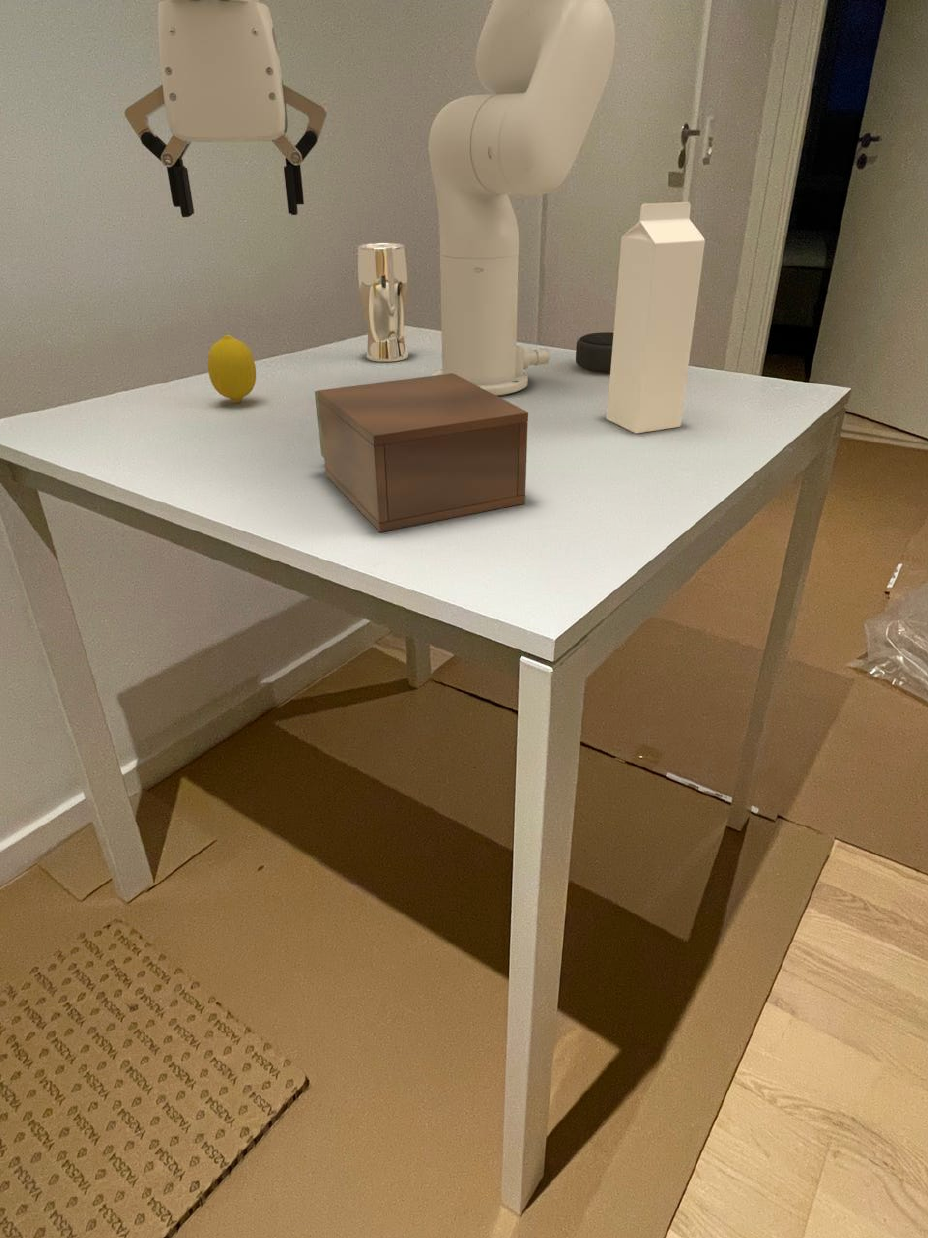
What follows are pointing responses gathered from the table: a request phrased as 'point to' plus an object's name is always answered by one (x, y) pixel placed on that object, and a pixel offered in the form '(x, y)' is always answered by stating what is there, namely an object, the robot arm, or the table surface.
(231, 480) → the table surface
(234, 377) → the lemon
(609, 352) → the smart speaker
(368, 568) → the table surface
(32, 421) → the table surface
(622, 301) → the milk
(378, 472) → the cabinet
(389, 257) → the beer glass
